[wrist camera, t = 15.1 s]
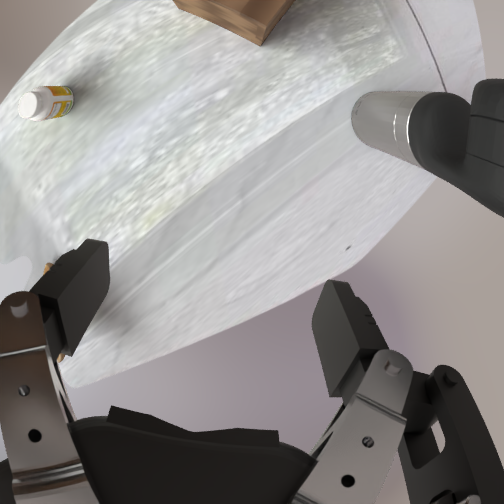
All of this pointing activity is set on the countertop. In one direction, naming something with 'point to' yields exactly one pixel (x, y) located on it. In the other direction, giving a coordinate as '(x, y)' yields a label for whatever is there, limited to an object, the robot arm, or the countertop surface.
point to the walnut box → (240, 15)
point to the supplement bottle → (46, 103)
